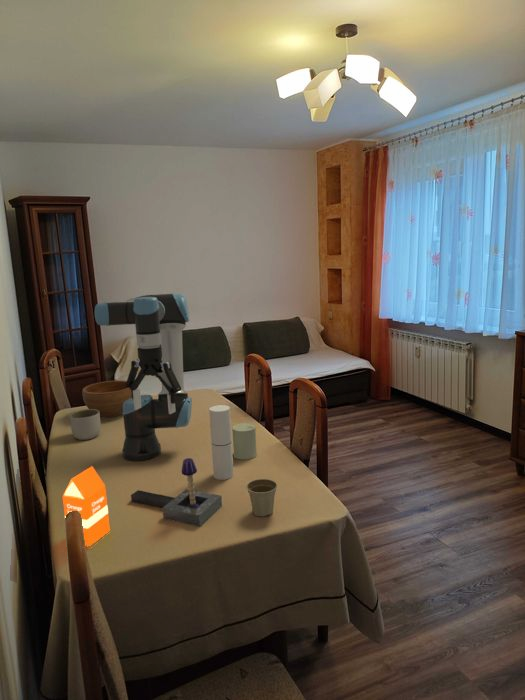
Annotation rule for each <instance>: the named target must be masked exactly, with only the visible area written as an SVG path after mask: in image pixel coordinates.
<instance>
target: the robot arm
mask: <svg viewBox="0 0 525 700" xmlns="http://www.w3.org/2000/svg"><path fill="white" fill-rule="evenodd" d="M189 312H190V311H189V308H188V303H187V299H186V297H185V295H184V294H182V293H163V294H162V293H161V294H146V295H141V296H136V297H131V298H128V299H127V300H126V301H114V302H106V301H105V302H100V303H99V302H98V303H97V304H96V305H95V306H94V318H95V319H94V320H95V322H96V324H97V325H98V326H107V327H108V326H109V327H110V326H120V325H121V326H122V325H135V335H136V336H135V337H136V338H135V339H136V345H137V347H138V348H137V358H138V359H137V358H136V359H134V360H131V362H130V363H131V364H130V370H129V373H128V376H127V379H126V381H127V382H126V385H125V386H126V388H130V389H131V393H132V398H130V399H128V400H126V401H125V402H124V403H123V413H122V416H123V427H124V435H125V438H124V441H123V446H122V452H121V453H122V458H123V459H125V460H127V461H133V462H137V461H139V462H141V461H146V460H150V459H153V458H155V457H158V456H159V455H160V454H161V452H162V446H161V443H160V442H159V439H158V437H157V435H156V429H171V428H173V429H174V428H176V429H178V428H183V427H184V428H185V427H187V426H189V424H190V422H191V418H192V410H193V409H192V408H193V407H192V406H193V402H192V397H190V396H188V395H189V393H188V392H187V391H186V390H185V388H184V383H185V382H184V359H183V358H184V355H183V354H184V353H183V331H184V329H185V328H186V327H187V326H186V323H188V322H190V313H189ZM139 367H140V368H139ZM139 369H140V370H139ZM138 371H139V372H138ZM145 376H152V377H155V378H157V379H158V380H159V381H160V382H161V391H160V392H159V393H157V398H153V396H152V395H151V394H141V389H140V387H139V386H140V384H141V383H142V381H143V380H144V378H145Z"/></svg>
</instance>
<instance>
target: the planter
mask: <svg viewBox="0 0 525 700" xmlns="http://www.w3.org/2000/svg"><path fill="white" fill-rule="evenodd" d="M69 420H70V421H69V422H70V428H71V433H72V436H73V437H74V438H75V439H77V440H80V441H85V440H86V441H87V440H92V439H94V438H96V437H97V436H99V434H100V432H101V427H102V426H101V424H102V423H101V416H100V413H99V411H98V410H95V409H88V408H87V409H81V410H76V411H74V412H72V413H70V414H69Z"/></svg>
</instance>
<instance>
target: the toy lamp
mask: <svg viewBox="0 0 525 700" xmlns="http://www.w3.org/2000/svg"><path fill="white" fill-rule="evenodd" d="M197 472H198V469H197V466H196V464H195V461H194V459H193V458H190V457H188V458H185V459H183V461H182V466H181V475H183V476H187V478H186V479H187V486H188V487H187V489H188V490H189V495H190V497H189V498H190V505H189V506H188V507H189V508H194V509H197V508H198V507H199V505H198V504H196V501H195V492H194V490H195V487H194V486H195V485H194V484H195V482H194V477H193V476H194V475H195V474H196V473H197Z"/></svg>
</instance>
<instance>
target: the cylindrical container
mask: <svg viewBox="0 0 525 700" xmlns="http://www.w3.org/2000/svg"><path fill="white" fill-rule="evenodd" d="M208 410H209V412H208V413H209V425H210V426H209V427H210V440H211V441H210V442H211V457H212V459H211V460H212V472H213V475H212V476H213V478H214V479H216V480H219V481H221V480H223V481H225V480H229V479H231V478H233V477H234V474H235V473H234V460H233V459H234V456H233V436H232V425H231V423H232V422H231V421H232V420H231V408H230V405H226V404H220V405H219V404H218V405H214V406H211V407H209V409H208Z"/></svg>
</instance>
